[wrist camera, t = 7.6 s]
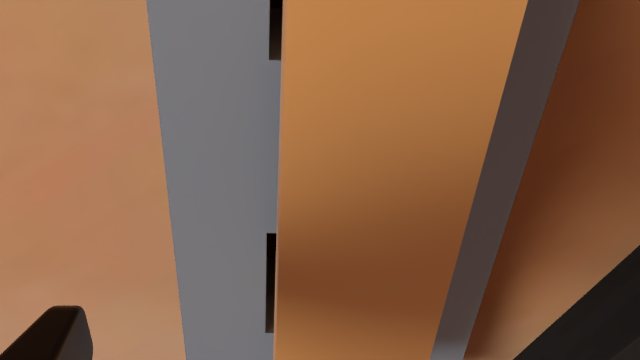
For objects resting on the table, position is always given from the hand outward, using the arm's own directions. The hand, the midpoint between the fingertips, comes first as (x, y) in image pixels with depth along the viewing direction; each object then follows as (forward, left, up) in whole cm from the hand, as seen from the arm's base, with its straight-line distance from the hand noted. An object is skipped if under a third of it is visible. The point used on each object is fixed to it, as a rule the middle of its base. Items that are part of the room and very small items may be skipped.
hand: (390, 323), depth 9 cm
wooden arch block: (0, 0, -8) cm, 8 cm away
